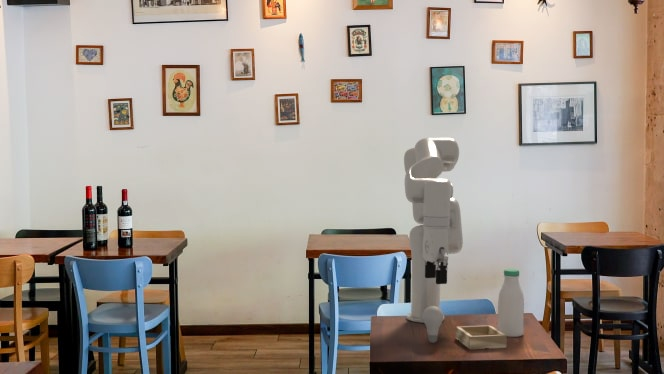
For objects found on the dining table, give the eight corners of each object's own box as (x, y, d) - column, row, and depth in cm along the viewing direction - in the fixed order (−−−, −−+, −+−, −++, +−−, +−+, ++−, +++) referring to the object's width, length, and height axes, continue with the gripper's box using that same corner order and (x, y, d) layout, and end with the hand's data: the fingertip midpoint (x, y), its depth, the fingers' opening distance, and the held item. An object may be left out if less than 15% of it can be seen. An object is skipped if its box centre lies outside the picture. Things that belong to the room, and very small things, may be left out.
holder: (455, 338, 217) (455, 326, 217) (490, 336, 219) (490, 325, 218) (470, 349, 205) (470, 336, 205) (506, 347, 207) (506, 335, 207)
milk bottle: (524, 338, 217) (525, 272, 216) (497, 336, 219) (499, 271, 218) (522, 331, 225) (523, 268, 224) (497, 330, 227) (498, 267, 225)
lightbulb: (447, 343, 212) (447, 306, 211) (435, 347, 207) (436, 309, 206) (429, 339, 216) (430, 303, 215) (418, 343, 211) (418, 306, 210)
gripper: (415, 219, 217) (414, 276, 218) (433, 225, 200) (433, 286, 201) (438, 219, 219) (438, 275, 219) (459, 225, 202) (458, 285, 202)
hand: (435, 280), depth 210 cm, fingers open, 9 cm apart
